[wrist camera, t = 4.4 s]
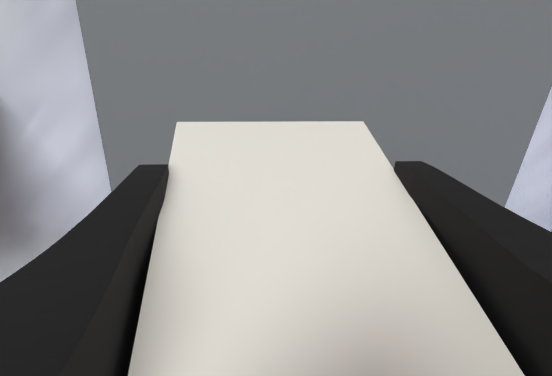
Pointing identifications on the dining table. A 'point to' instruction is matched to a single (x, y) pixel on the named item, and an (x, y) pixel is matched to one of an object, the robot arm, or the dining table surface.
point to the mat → (326, 75)
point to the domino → (301, 264)
